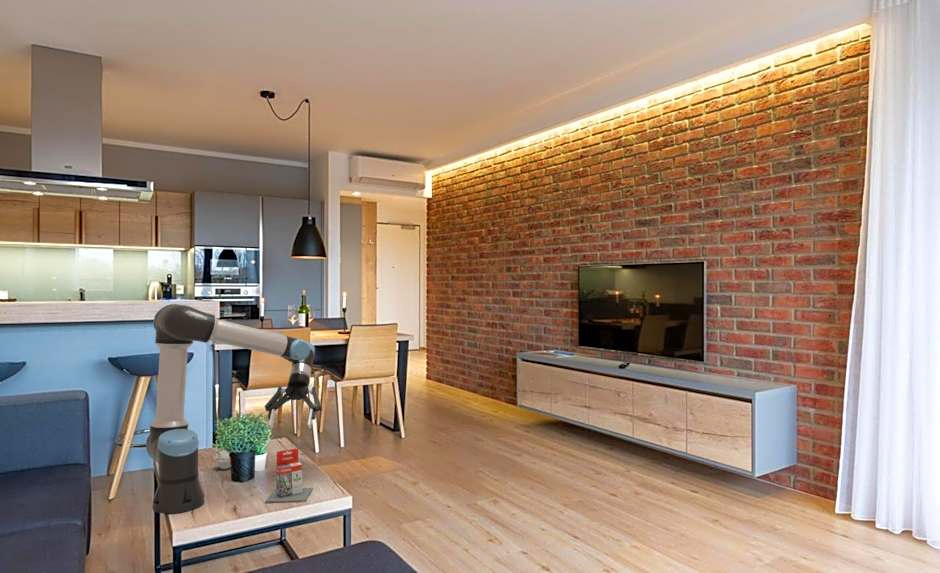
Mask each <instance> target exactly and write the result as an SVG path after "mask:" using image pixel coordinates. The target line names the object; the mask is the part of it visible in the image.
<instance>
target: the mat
mask: <svg viewBox="0 0 940 573" xmlns="http://www.w3.org/2000/svg"><path fill="white" fill-rule="evenodd" d="M312 489H314V487H303V492H302V493H299V494H294V495H290V496H285V497H281V498H280V497H279V496H277V495H276V488H274V489H273V490H272V491H271V493H270V494H269V496H268V497H267V499H266V500H265V501H264V504H278V503H279V504H283V503H285V502H288V503H302V502H301V501H306V500H307V501H308V499H309V497H310V495H311V493H312V492H311V491H313V490H312ZM308 496H309V497H308ZM307 498H308V499H307ZM307 501H306V502H307Z"/></svg>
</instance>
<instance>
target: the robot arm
mask: <svg viewBox="0 0 940 573" xmlns="http://www.w3.org/2000/svg"><path fill="white" fill-rule="evenodd" d="M153 327H154V330H155V338H154V339H155V341H154V343H155V345H156V346H157V347H158V348H159V358H158V360H159V361H158V376H157V377H158V378H157V393H156V409H155V419H154V420H153V421H152V422H151V423H150V425H149V426H150V427H149V434H148V436H147V438H146V442H145V443H146V445H145V446H146V451H147V453H148V456H149V457H150V458H151V459H153V460H154V462H155V463H157V466H158V467H157V468H158V485H157V487H156V491H155V494H154V497H153V500H152V510H153V512H155V513H158V514H165V515H166V514H168V513H171V514H178V513H184V512H188V511H189V512H190V511H191V509H192V510H194V508H195V509H197V508H199V507H200V506H202V505H204V503H205V493H204V490H203V487H202V485H201V482H200V479H199V445H200V444H199V437H198V434H197V432H195V431H194V430H192V429H189V422H188V420H186V419H185V418H184V417H185V400H186V386H187V385H186V382H187V380H186V379H187V367H188V365H187V364H188V350H189V348H190V347H191V346H193V344H194V342H198V343H199V342H200V343H205V344H208V343H209V342H214V343H218V344H224V345H228V346H233V347H237V348H241V349H246V350H251V351H255V352H260V353H264V354H269V355H273V356H279V357H280V358H282V359H284V360H287V362H289V363H291V369H290V374H289V378H288V381H287V382H288V383H287V386H286V388H285V387H284V388H282V387H281V386H278V387H277V391H276V392H275V393H274V395H272V396H271V398H270V399H269V400H268V402H267V403H266V404H265V405H264V408H265V411H266V412H268V413H267V414H268V415H267V418H268V420H269V421H268V427H269V429H270V430H272V429H273V427H274V423H275V420H276V419H275V418H276V414H277V413H276V411H277V410H279V408H281V407H282V406H284V404H286V403H288V402H289V401H300V400H303V402H305V403H306V405H307V406H308V407H309V408H310V409H309V414H308V421H307V427H308V429H309V430H311V429H312V424H313V421H314V420H316V418H317V412H322V411H323V408H322V404H321V402H320V399H319V397H318V395H317V389H316V387H315V386H312V388H309V387H310V380H311V375H312V369H313V364H314V359H315V355H316V353H315V352H316V347H315V345H313V344H312V343H311V342H307V341H306V340H304V339H301V338H296V337H291V336H288V335H285V334H282V333H279V332H278V331H274V332H272V331H268V330H263V329H259V328H254V327H250V326H248V325H243V324H240V323H235V322H230V321H227V320H224V319H223V320H222V319H219V318H217V316H216V315H215V314H212V313H207V312H205V311H201V310H199V309H197V308H194V307H193V306H190V305H183V304H177V303H172V304H167V305H165V306H163V307H161V308H159V310H158V311H156V313H155V315H154V317H153ZM309 393H310V395H311V396H312V397H313V400H314V403H313V402H312V400H311V399H310V398H309V397H308V394H309ZM282 395H283V396H282ZM315 404H316V405H315Z"/></svg>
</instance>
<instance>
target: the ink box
mask: <svg viewBox="0 0 940 573" xmlns="http://www.w3.org/2000/svg"><path fill="white" fill-rule="evenodd" d="M286 453H287V454H286ZM275 474H276V475H275V476H276V477H275V478H276V482H275V484H276V486H275V489H276V495H277V496H279V497H280V498H281V497H285V496H290V495H294V494H299V493H302V492H303V488H304V487H303V464H302V463H301V462H300V461H299V448H291V449H286V450H279V451H276V468H275Z"/></svg>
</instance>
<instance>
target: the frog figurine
mask: <svg viewBox="0 0 940 573" xmlns="http://www.w3.org/2000/svg"><path fill="white" fill-rule="evenodd" d="M225 451H226V450H221V451H219V452H217V453H216V454H215V456H214V457H215V458H214V459H215V461H216V462H217V465H218V467H219V469H221V470H228V469H229V468H231V467H230V457H229V454H230V453H229V452H228V451H226V452H225ZM228 453H229V454H228Z"/></svg>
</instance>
